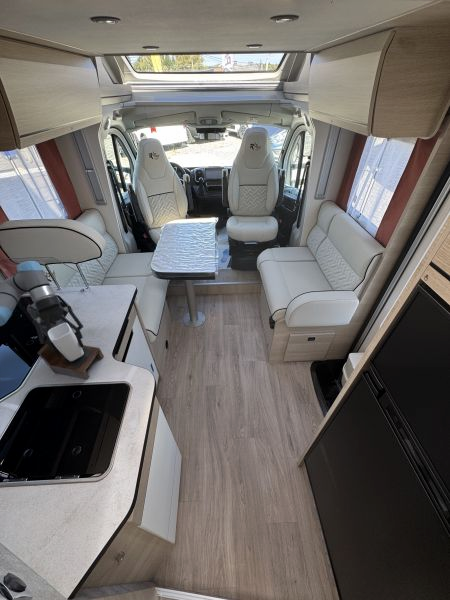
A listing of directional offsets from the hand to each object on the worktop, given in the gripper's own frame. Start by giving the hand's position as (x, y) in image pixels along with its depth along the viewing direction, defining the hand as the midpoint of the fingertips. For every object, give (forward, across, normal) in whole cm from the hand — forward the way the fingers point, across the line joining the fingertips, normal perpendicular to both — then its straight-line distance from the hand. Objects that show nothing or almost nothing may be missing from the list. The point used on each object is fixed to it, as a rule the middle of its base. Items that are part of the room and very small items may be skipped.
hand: (71, 352), depth 99 cm
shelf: (+6, +1, -12) cm, 14 cm away
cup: (+2, 0, -6) cm, 7 cm away
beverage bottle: (-9, +4, -27) cm, 29 cm away
